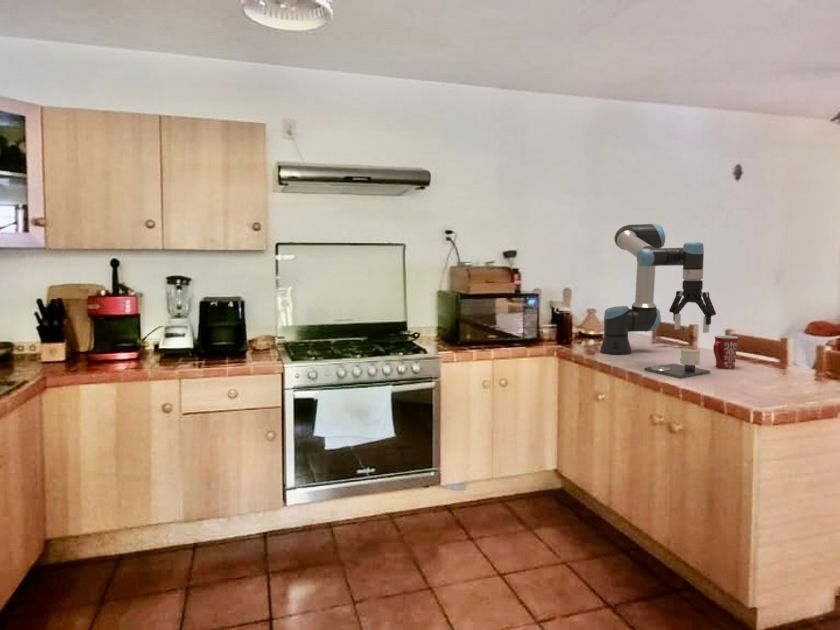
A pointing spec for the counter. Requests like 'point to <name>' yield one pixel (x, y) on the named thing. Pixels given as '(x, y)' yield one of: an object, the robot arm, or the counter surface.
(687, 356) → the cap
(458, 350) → the counter surface
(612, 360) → the counter surface
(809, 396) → the counter surface
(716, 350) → the mug
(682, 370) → the post base
